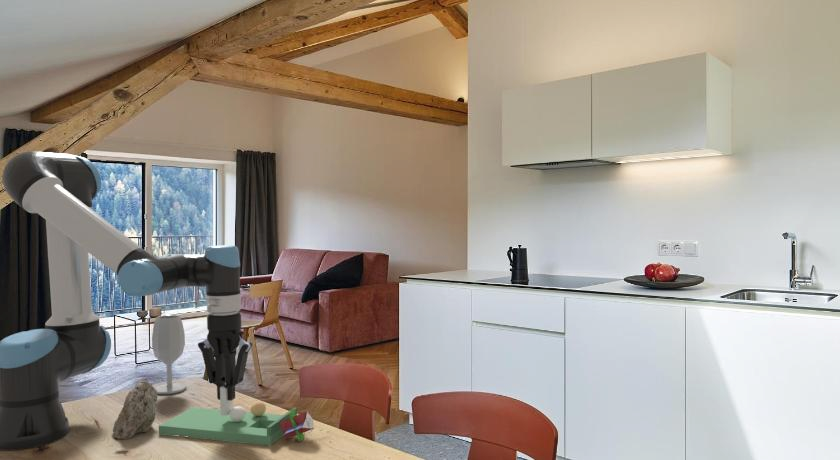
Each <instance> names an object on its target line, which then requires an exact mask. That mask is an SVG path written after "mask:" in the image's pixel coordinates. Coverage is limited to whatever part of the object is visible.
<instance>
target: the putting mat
mask: <svg viewBox="0 0 840 460" xmlns="http://www.w3.org/2000/svg"><path fill="white" fill-rule="evenodd" d="M293 408H294V409H293ZM293 408H291V409H290V410H288V411H287V412H285V413H284V414H274V413H273V414H272V413H264V414H263V415H262V416H259V417H257V416H254V415H253V414H252V413H251V411H250V412H249V411H245V417H244V419H243V420H242V421H240V422H234V421H232V420H231V418H230V414H228V415H227V416H223V415H221V409H216V408H207V407H206V408H205V407H204V408H203V407H191V408H189V409H187V410H185V411H184V412H182V413H180V414H179V415H176V416H175V417H173V418H170V419H169V420H167V421H164V422H163V423H161V424H159V425H158V435H161V434H165V435H164V436H171V435H179V436H178V437H181V436H188V437H187V438H191V437H195V438H194V439H201V438H206V439H205V440H211V439H214V441H221V440H222V441H223V442H232V443H242V444H243V443H244V444H253V445H262V446H272V445H273V444H275V442H277V441H278V440H280V439H281V438H282V437H283V436H284V433H283V431H282V428H281V426H280V423H279V422H281V421H283V420H286V419H289V418H290V417H289V416H288V414H289V413H290V412H291V410H292V409H293V410H294V412H295V413H296V415H298V408H297V407H293ZM296 410H297V411H296ZM286 416H287V417H286ZM282 419H283V420H282Z"/></svg>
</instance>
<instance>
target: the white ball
mask: <svg viewBox="0 0 840 460" xmlns="http://www.w3.org/2000/svg"><path fill="white" fill-rule="evenodd" d="M245 412H246V410H245V408H244V407H242V406H240V405H239V406H238V405H237V406H234V407H233V409H232V410H231V411H230V418H231V420H232V421H234V422H240V421H242V420H243V419H244V417H245Z"/></svg>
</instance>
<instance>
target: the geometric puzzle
mask: <svg viewBox="0 0 840 460" xmlns="http://www.w3.org/2000/svg"><path fill="white" fill-rule="evenodd" d="M294 408H295V407H292V408H291V409H292V410H291V409H290V410H291V412H290V413H289V414H288V416H289V417H290V418H289V419H286V420H283V419H282V420H283V421H281V422H279V423H280V426H281V428H282V431H283V433H284V435H283V436H284V438H285V440H291V439H292V438H293V439H294V440H293V441H294V442H295V443H297V444H301V442H303V440H304V438H305V437H306V432H307V434H310V432H312V431H313V430H314V429H315V426H314V418H313V417H312V416H311V415H310V413H309V412H308V411H304V410H302V409H301V410H302V412H300V411H299V410H298V409H297V410H296V411H297V413H298V414H297V415H296V413H295V412H294V410H293V409H294ZM286 417H287V416H286ZM296 438H297V439H298V440H295V439H296Z"/></svg>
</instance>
